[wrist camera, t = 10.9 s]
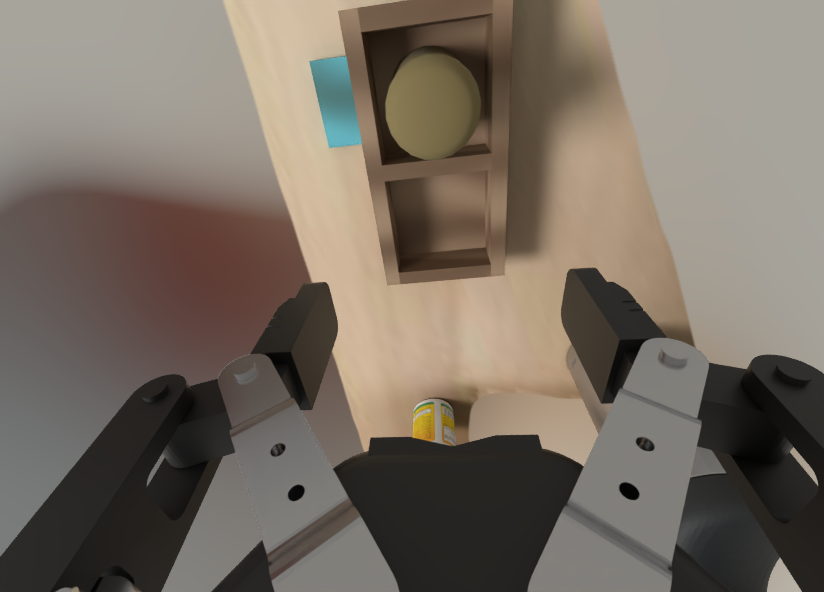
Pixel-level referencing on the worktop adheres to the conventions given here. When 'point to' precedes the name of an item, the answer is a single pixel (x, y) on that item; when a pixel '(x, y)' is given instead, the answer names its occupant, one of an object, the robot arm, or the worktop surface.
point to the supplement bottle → (434, 422)
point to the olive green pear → (432, 103)
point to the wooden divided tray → (414, 177)
